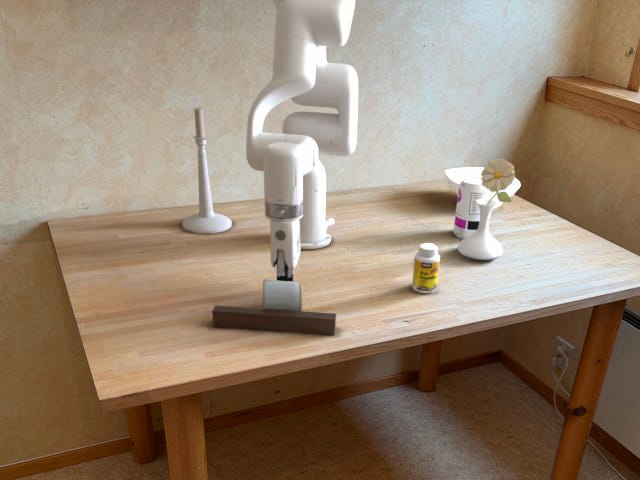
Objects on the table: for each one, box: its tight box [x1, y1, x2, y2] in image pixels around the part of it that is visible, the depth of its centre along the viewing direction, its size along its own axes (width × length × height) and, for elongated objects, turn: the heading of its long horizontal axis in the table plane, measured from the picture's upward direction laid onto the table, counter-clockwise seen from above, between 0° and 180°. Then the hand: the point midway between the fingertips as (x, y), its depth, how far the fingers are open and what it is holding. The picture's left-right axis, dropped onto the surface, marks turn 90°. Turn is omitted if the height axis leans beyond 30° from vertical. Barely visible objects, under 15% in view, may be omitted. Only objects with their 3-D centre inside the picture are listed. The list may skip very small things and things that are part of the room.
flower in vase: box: [457, 157, 516, 261], centre depth 166 cm, size 13×11×25 cm
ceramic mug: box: [262, 278, 304, 311], centre depth 140 cm, size 11×8×8 cm
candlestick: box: [181, 106, 233, 235], centre depth 175 cm, size 13×13×30 cm
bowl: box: [444, 166, 521, 209], centre depth 205 cm, size 21×21×9 cm
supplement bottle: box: [411, 242, 441, 294], centre depth 152 cm, size 6×6×10 cm
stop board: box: [211, 304, 337, 336], centre depth 135 cm, size 2×24×4 cm, turn 87°
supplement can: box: [453, 177, 490, 240], centre depth 181 cm, size 8×8×15 cm
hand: (285, 292), depth 145 cm, fingers closed
